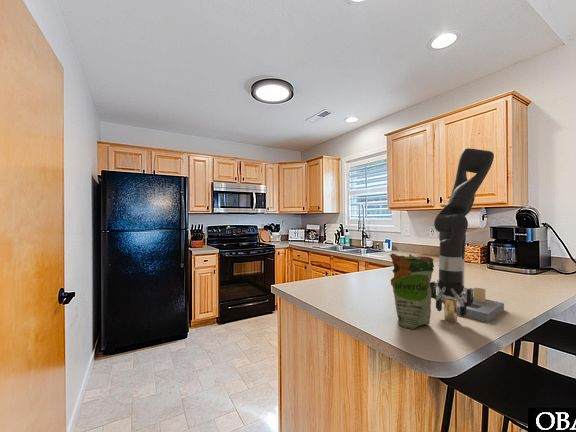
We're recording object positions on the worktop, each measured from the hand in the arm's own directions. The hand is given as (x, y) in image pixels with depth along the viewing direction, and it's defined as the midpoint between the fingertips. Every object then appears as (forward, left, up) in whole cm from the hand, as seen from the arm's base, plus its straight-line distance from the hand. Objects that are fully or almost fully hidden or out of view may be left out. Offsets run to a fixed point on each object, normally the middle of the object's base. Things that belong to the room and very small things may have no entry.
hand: (450, 313), depth 98 cm
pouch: (-7, -15, -3) cm, 17 cm away
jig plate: (+2, +19, -3) cm, 19 cm away
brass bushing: (0, 0, -3) cm, 3 cm away
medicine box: (-11, +26, -3) cm, 28 cm away
